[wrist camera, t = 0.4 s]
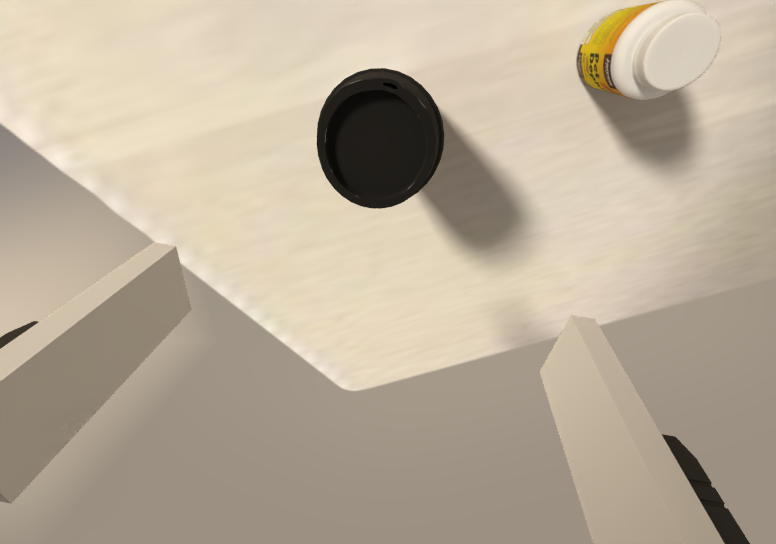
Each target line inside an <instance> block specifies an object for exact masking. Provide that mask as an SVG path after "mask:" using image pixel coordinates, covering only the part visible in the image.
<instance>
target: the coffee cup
mask: <svg viewBox="0 0 776 544" xmlns="http://www.w3.org/2000/svg"><path fill="white" fill-rule="evenodd" d="M443 145H444V130H443V122H442V119H441V116H440V113H439V110H438V107H437V106H436V104H435V102H434V100H433V99H432V97H431V95H430V94H429V93H428V92H427V91H426V90H425V89H424V87H423V86H422V85H420V84H419V83H418V82H417V81H415V80H414V79H413V78H411V77H409V76H407V75H405V74H403V73H401V72H399V71H395V70H390V69H385V68H381V69H368V70H364V71H360V72H357V73H355V74H353V75H351V76H349V77H347V78H346V79H344V80H343V81H342V82H341V83H340V84H339V85H338V86H336V87H335V88H334V90H333V91H332V92H331V94H330V95H329V96H328V98H327V99H326V101H325V104H324V106H323V108H322V110H321V113H320V117H319V121H318V128H317V149H318V157H319V160H320V164H321V167H322V169H323V172H324V174H325V176H326V178H327V179H328V181H329V182H330V183H331V185H332V186H333V188H334V189H335V190H336V191H337V192H338V193H340V194H341V195H342V196H343V197H344V198H346V199H347V200H349V201H351V202H352V203H355V204H357V205H360V206H363V207H368V208H387V207H392V206H395V205H397V204H400V203H402V202H404V201H405V200H407V199H408V198H410V197H411V196H413V195H414V194H416V193H417V192H419V191H420V190H421V189H422V188H423V187H424V186H425V185H426V184H427V182H428V181H429V180H430V178H431V177H432V176H433V174H434V172H435V170H436V168H437V166H438V164H439V162H440V159H441V155H442V151H443Z"/></svg>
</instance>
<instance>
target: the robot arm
mask: <svg viewBox="0 0 776 544" xmlns="http://www.w3.org/2000/svg"><path fill="white" fill-rule="evenodd" d="M190 310H191V306H190V302H189V297H188V294H187V289H186V285H185V281H184V277H183V273H182V269H181V265H180V261H179V257H178V253H177V249H176V246H171V245H165V244H159V243H152V244H151V245H149V246H148V247H146V248H145V249H144V250H142V251H141V252H139V253H138V254H136V255H135V256H133V257H132V258H131V259H129V260H128V261H126V262H125V263H123V264H122V265H120V266H119V267H118V268H117V269H115V270H113V271H112V272H110V273H109V274H108V275H106V276H105V277H103V278H102V279H100V280H99V281H97V282H96V283H95V284H93V285H92V286H90V287H89V288H87V289H86V290H85V291H83V292H82V293H80V294H79V295H77V296H76V297H75V298H73V299H72V300H70V301H69V302H67V303H66V304H64V305H63V306H62V307H60V308H59V309H57V310H56V311H54V312H53V313H51V314H50V315H49V316H47V317H46V318H44V319H43V320H41V321H40V322H36V321H34V322H31V323H29V324H27V325H25V326H22V327H20V328H18V329H15V330H13V331H11V332H9V333H7V334H5V335H4V336H2V337H1V338H0V501H2V502H7V503H12V502H13V501H14V500H15V499H16V498H17V497H18V496H19V495H20V494H21V492H22V491H23V490H24V489H25V488H26V487H27V486H28V485H29V484H30V483H31V482H32V480H34V478H35V477H36V476H37V475H38V474H39V473H40V472H41V471H42V470H43V469H44V467H46V466H47V464H48V463H49V462H50V461H51V460H52V459H53V458H54V457H55V456H56V455H57V454H58V453H59V452H60V450H61V449H62V448H63V447H64V446H65V445H66V444H67V443H68V442H69V441H70V439H72V438H73V437H74V435H75V434H76V433H77V432H78V431H79V430H80V429H81V428H82V427H83V426H84V425H85V424H86V422H87V421H88V420H89V419H90V418H91V417H92V416H93V415H94V414H95V413H96V412H97V411H98V410H99V409H100V408H101V406H102V405H103V404H104V403H105V402H106V401H107V400H108V399H109V398H110V396H112V394H114V392H115V391H116V390H117V389H118V388H119V387H120V386H121V385H122V384H123V383H124V382H125V381H126V379H127V378H128V377H129V376H130V375H131V374H132V373H133V372H134V371H135V370H136V369H137V368H138V367H139V366H140V364H141V363H142V362H143V361H144V360H145V359H146V358H147V357H148V356H149V355H150V354H151V353H152V352H153V350H154V349H155V348H156V347H157V346H158V345H159V344H160V343H161V342H162V341H163V340H164V339H165V338H166V336H167V335H168V334H169V333H170V332H171V331H172V330H173V329H174V328H175V327H176V326H177V325H178V324H179V323H180V321H181V320H182V319H183V318H184V317H185V316H186V315H187V314H188V313H189V312H190ZM540 375H541V378H542V382H543V385H544V388H545V391H546V394H547V398H548V400H549V404H550V407H551V410H552V413H553V417H554V419H555V423H556V426H557V429H558V433H559V436H560V439H561V442H562V445H563V448H564V452H565V455H566V458H567V461H568V464H569V468H570V471H571V474H572V477H573V480H574V483H575V487H576V490H577V492H578V496H579V499H580V502H581V505H582V509H583V512H584V515H585V518H586V522H587V525H588V528H589V531H590V534H591V538H592V541H593V544H750V543H749V542H748V540H747V539H746V537H745V535H744V534H743V532H742V530H741V529H740V527H739V526H738V524H737V523H736V521H735V519H734V518H733V516H732V515H731V513H730V512H729V510H728V509H726V508H725V507H724V502H723V500H722V499H721V497H720V495H719V494H718V492H717V491H716V489H715V488H713V487H712V486H711V481H710V480H709V478H708V476H707V475H706V473H705V472H704V470H703V468H702V467H701V466H700V464H699V462H698V460H697V459H696V458H695V457H694V456H693V455H692V454H691V453H690V452H689V451H688V450H687V448H686V447H685V446H684V445H682V443H681V442H680V441H679V440H678V439H677V438H676V437H673V436H668V435H663V434H661V433H660V431H659V429H658V428H657V426H656V424H655V422H654V421H653V419H652V417H651V415H650V414H649V412H648V410H647V408H646V407H645V405H644V403H643V402H642V400H641V398H640V397H639V395H638V393H637V391H636V389H635V388H634V386H633V385H632V383H631V381H630V379H629V377H628V376H627V374H626V372H625V370H624V369H623V367H622V365H621V364H620V362H619V360H618V358H617V357H616V355H615V353H614V352H613V350H612V348H611V346H610V345H609V343H608V341H607V339H606V338H605V336H604V334H603V332H602V331H601V329H600V327H599V325H598V324H597V322H596V320H595V319H590V318H585V317H579V316H573V315H571V316H570V318H569V320H568V322H567V323H566V325H565V327H564V329H563V331H562V332H561V334H560V336H559V338H558V340H557V341H556V343H555V345H554V347H553V349H552V350H551V352H550V354H549V356H548V358H547V359H546V361H545V363H544V365H543V366H542V368H541V370H540Z"/></svg>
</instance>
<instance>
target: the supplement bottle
mask: <svg viewBox="0 0 776 544" xmlns="http://www.w3.org/2000/svg"><path fill="white" fill-rule="evenodd" d="M720 41H721V31H720V28H719V25H718V23H717V21H716V20H715V19H714V18H713V17H712V16H710V15H708V14H707V13H706V11H705V10H704V9H703V8H702V7H701V6H700V5H699V4H697V3H695V2H693V1H690V0H666V1H662V2H657V3H651V4H646V5H641V6H636V7H630V8H625V9H620V10H616V11H613V12H611V13H609V14H606V15H605V16H603V17H602V18H600V19H599V20H598V21H596V22H595V23H594V24H593V25H592V26H591V27H590V28H589V30H588V31H587V32H586V34H585V35H584V37H583V39H582V41H581V43H580V45H579V48H578V51H577V56H576V66H577V71H578V74H579V76H580V77H581V79H582V80H583V81H584V82H585V83H586V84H587V85H589V86H591V87H593V88H596V89H600V90H603V91H607V92H610V93H614V94H618V95H622V96H625V97H629V98H632V99H638V100H648V99H654V98H658V97H661V96H664V95H666V94H668V93H670V92H672V91H674V90H676V89H679V88H682V87H685V86H687V85H689V84H690V83H692V82H693V81H695V80H696V79H698V78H699V77H700V76H701V75H702V74H703V73H704V72H705V71H706V70H707V69H708V68H709V66H710V65H711V64H712V62H713V60H714V59H715V57H716V55H717V52H718V50H719V46H720Z"/></svg>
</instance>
